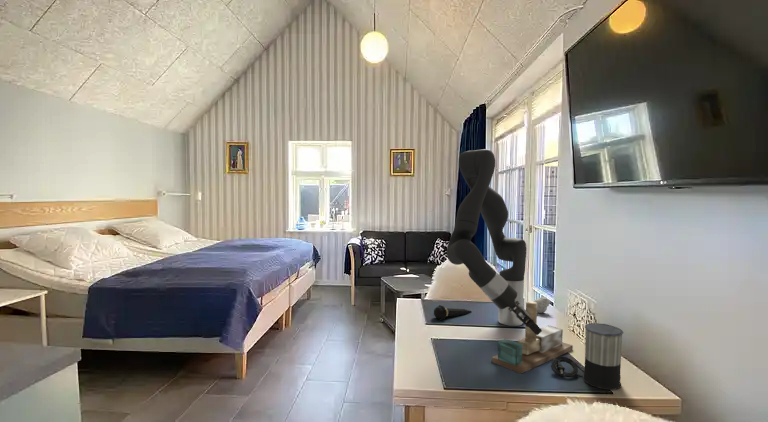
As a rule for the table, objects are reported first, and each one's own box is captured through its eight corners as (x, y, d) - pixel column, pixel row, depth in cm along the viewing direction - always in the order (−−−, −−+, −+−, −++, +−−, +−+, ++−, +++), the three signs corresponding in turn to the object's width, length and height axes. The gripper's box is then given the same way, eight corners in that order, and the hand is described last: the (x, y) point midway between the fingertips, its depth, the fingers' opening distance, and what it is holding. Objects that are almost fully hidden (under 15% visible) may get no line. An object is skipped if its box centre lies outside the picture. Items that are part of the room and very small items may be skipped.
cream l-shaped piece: (548, 338, 138) (550, 295, 137) (558, 341, 135) (559, 297, 134) (517, 351, 126) (518, 304, 126) (527, 354, 124) (528, 306, 123)
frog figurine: (550, 315, 171) (550, 299, 171) (532, 313, 174) (532, 297, 174) (549, 311, 177) (550, 295, 177) (532, 310, 180) (533, 294, 179)
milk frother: (629, 390, 107) (631, 334, 106) (570, 391, 106) (572, 334, 105) (597, 367, 121) (599, 317, 120) (545, 368, 120) (546, 317, 119)
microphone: (467, 318, 177) (431, 320, 166) (465, 305, 178) (430, 306, 167) (476, 318, 172) (440, 319, 161) (475, 304, 174) (439, 304, 163)
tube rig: (544, 340, 142) (544, 320, 142) (572, 349, 134) (573, 328, 134) (491, 361, 124) (492, 338, 124) (520, 373, 116) (521, 349, 116)
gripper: (511, 287, 120) (554, 330, 120) (502, 277, 134) (540, 315, 134) (493, 304, 121) (534, 347, 121) (485, 292, 135) (523, 331, 135)
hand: (537, 330), depth 127 cm, fingers closed on cream l-shaped piece, 3 cm apart
